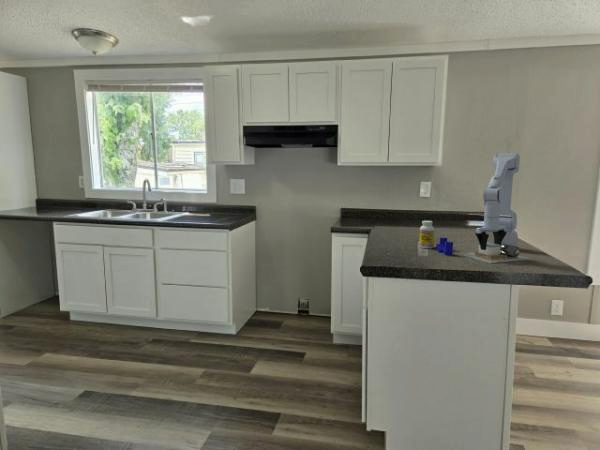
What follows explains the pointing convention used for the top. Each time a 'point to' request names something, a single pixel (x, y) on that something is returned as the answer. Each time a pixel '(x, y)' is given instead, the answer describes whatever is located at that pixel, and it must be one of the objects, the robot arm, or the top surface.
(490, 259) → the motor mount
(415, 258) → the top surface
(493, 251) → the block
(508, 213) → the robot arm
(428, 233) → the supplement bottle
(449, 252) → the cable clip
